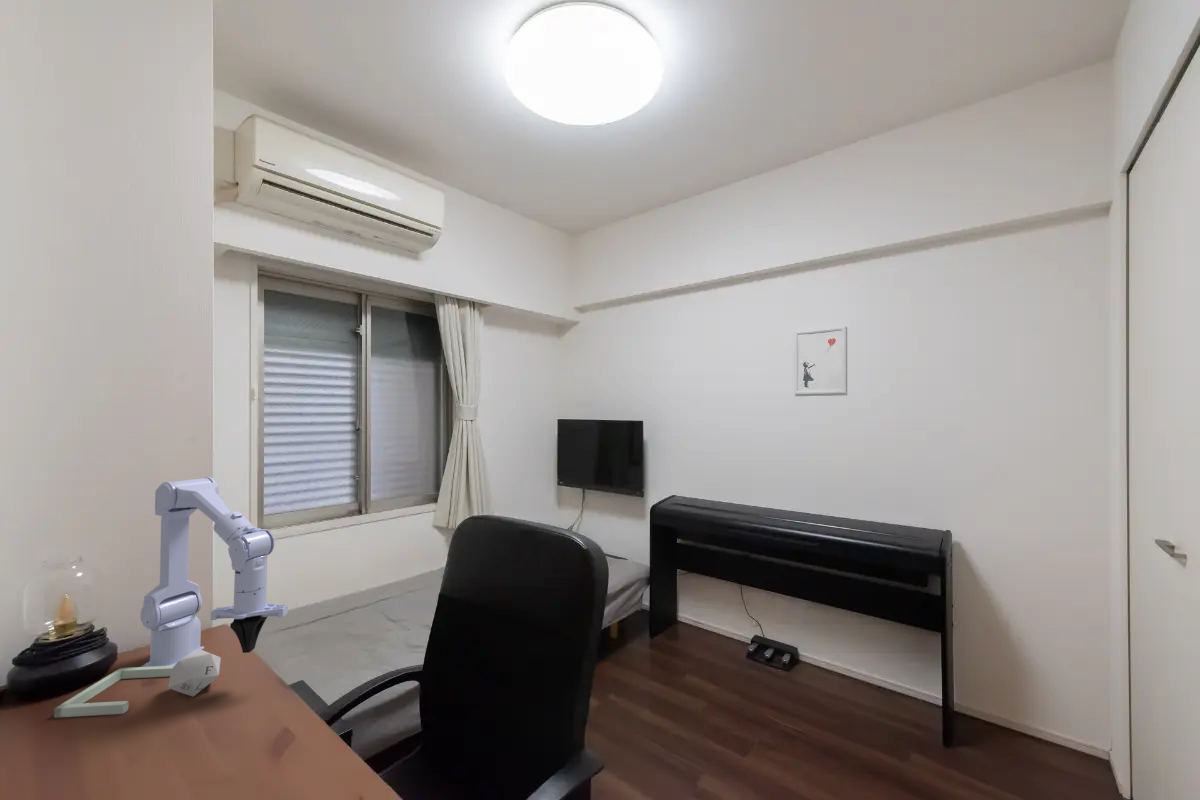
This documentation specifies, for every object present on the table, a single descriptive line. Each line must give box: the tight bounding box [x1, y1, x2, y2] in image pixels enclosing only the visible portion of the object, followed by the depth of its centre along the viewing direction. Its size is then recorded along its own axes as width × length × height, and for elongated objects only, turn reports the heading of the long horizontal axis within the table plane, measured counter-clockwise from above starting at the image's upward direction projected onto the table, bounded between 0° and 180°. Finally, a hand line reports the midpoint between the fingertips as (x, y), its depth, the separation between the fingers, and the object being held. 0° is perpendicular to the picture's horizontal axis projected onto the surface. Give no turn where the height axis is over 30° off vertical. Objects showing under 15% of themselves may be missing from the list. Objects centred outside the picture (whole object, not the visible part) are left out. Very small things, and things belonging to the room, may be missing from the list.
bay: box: [53, 665, 175, 719], centre depth 100 cm, size 14×12×2 cm
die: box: [167, 649, 222, 698], centre depth 101 cm, size 8×9×10 cm
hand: (248, 650), depth 103 cm, fingers closed
